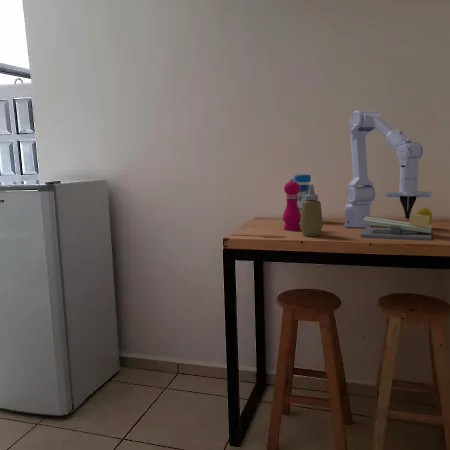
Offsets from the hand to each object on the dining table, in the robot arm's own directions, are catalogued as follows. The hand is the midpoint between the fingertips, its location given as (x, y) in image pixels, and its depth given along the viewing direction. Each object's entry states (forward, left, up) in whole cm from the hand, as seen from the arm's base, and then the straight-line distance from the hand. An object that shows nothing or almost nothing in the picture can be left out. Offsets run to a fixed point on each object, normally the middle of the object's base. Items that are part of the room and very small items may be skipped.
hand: (407, 218), depth 158 cm
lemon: (+5, +16, -6) cm, 18 cm away
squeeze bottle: (-31, -8, -6) cm, 33 cm away
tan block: (+4, 0, -2) cm, 4 cm away
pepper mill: (-41, +3, -6) cm, 42 cm away
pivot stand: (-3, 0, -6) cm, 7 cm away
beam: (-4, 0, -4) cm, 5 cm away
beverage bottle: (-42, +24, -6) cm, 49 cm away
